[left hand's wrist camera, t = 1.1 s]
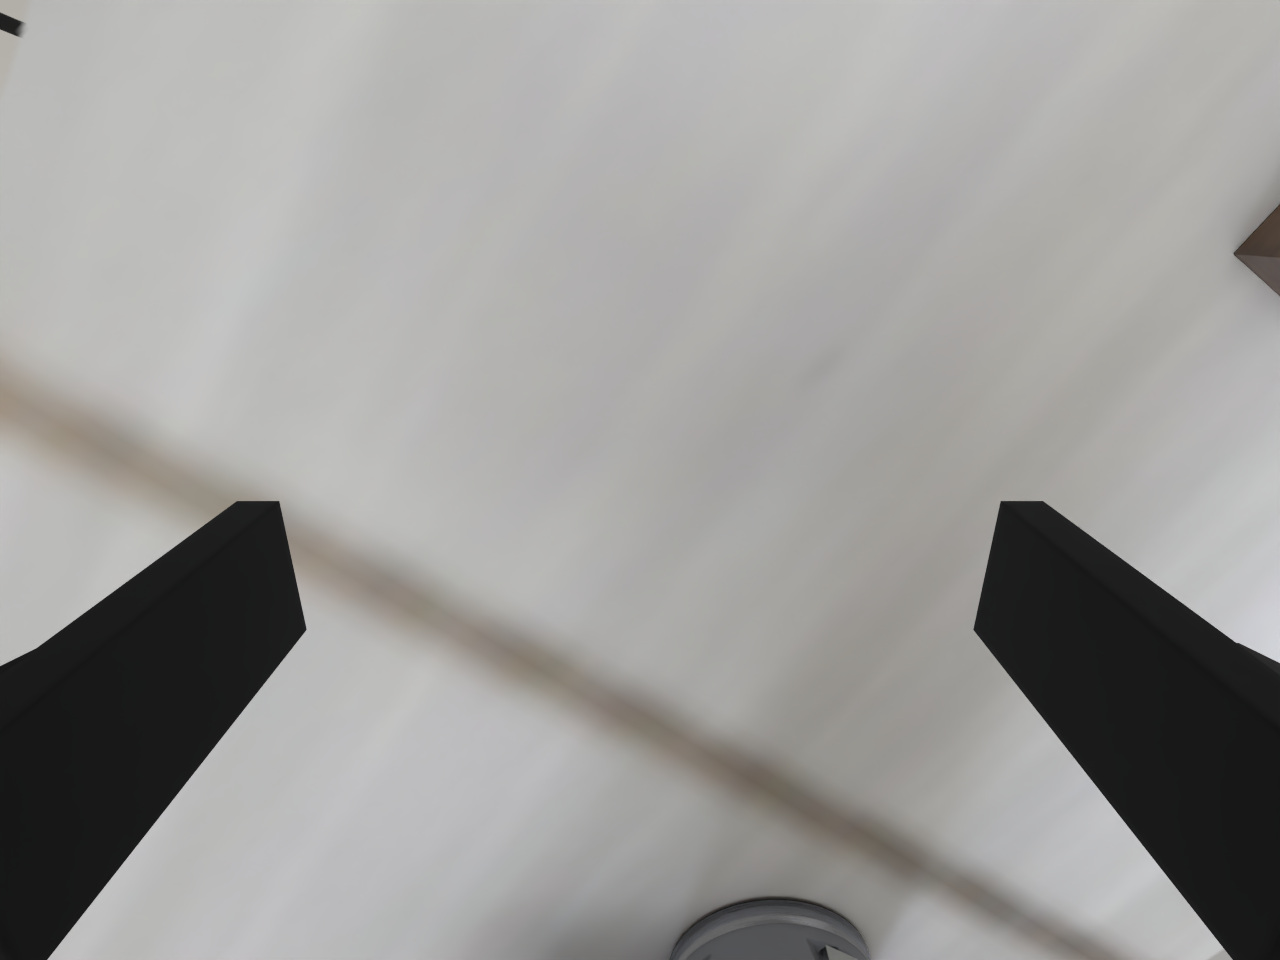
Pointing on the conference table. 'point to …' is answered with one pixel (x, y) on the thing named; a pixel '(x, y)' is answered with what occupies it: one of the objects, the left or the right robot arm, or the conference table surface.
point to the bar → (1264, 251)
